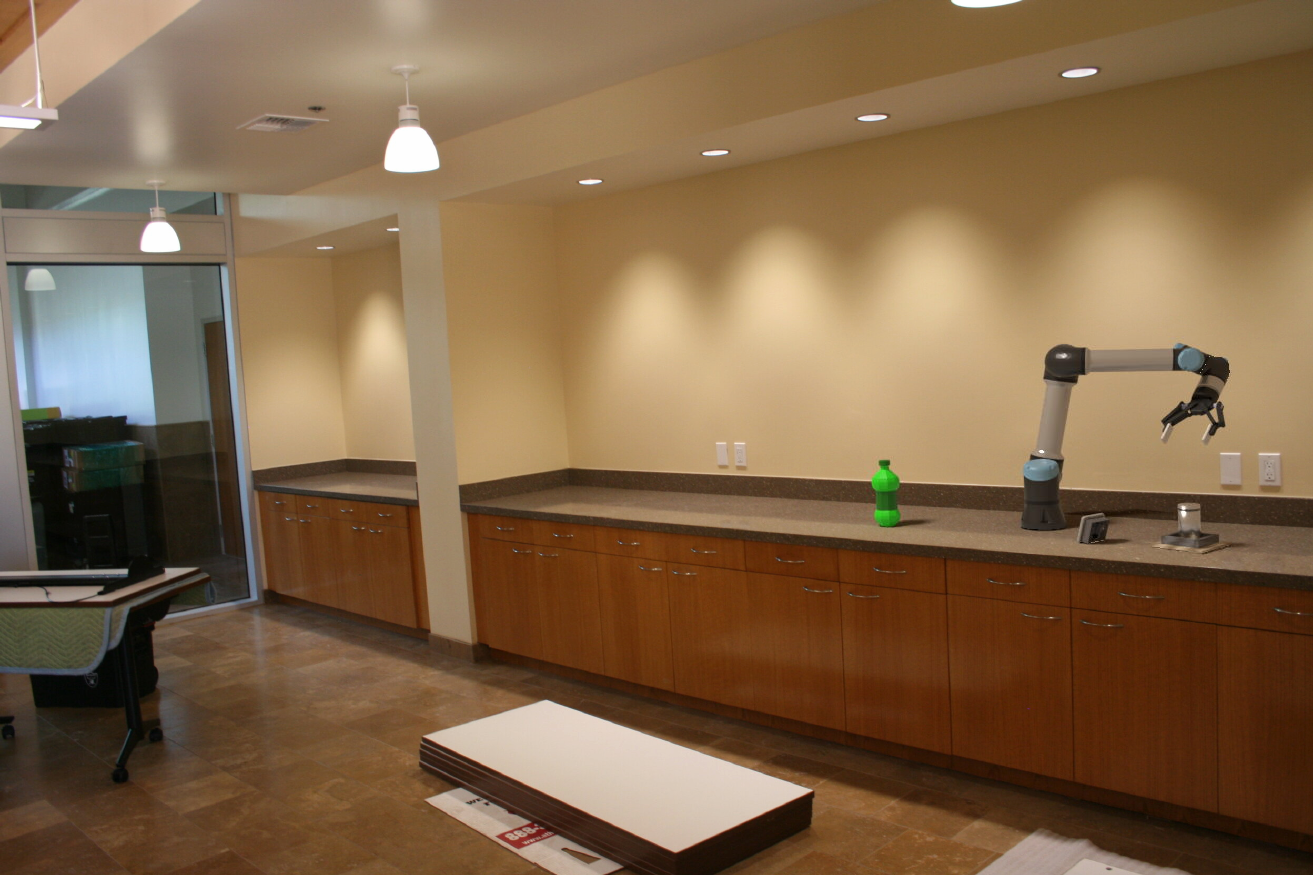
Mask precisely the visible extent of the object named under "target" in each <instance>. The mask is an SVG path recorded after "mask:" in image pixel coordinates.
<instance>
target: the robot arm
mask: <svg viewBox="0 0 1313 875" xmlns="http://www.w3.org/2000/svg"><path fill="white" fill-rule="evenodd" d="M1212 355H1213V354H1209V353H1207V352H1204V351H1202V350H1200V349H1198V348H1195V347H1192V346H1189V345H1187V344H1184V343H1181V342H1176V343H1175V344H1174V346H1173V348H1134V349H1133V348H1132V349H1131V348H1130V349H1129V348H1128V349H1125V348H1124V349H1089V348H1088V347H1083V346H1082V347H1080V346H1079V347H1078V346H1074V345H1072V344H1068V343H1061V344H1056V345H1055V346H1053V347H1052V348H1050V349H1049V350H1048V351H1047V353H1046V354H1045V357H1044V370H1043V378H1042V380H1043V382H1044V383H1045V385H1046V387H1045V390H1044V391H1045V392H1044V399H1043V404H1042V410H1041V416H1040V422H1039V428H1038V435H1037V440H1036V446H1035V449H1034V450H1033V451H1031V452H1030V455H1029V460H1028V461H1025V463H1024V464H1023V469H1022V474H1023V489H1024V492H1023V493H1024V494H1023V495H1024V507H1023V509H1022V514H1021V518H1020V521H1019V523H1020V524H1019V525H1020V526H1019V527H1020V528H1021V527H1023V528H1022V529H1024V528H1027V529H1026V530H1029V529H1038V530H1037V531H1053V530H1052V529H1057V530H1062V529H1065V528H1066V527H1067V520H1066V518H1065V514H1064V512H1063V510H1062V507H1061V501H1060V500H1061V498H1060V497H1061V496H1060V483H1061V481H1062V479H1063V469H1064V463H1065V457H1064V455H1063V454H1062V447H1063V444H1064V443H1063V441H1064V437H1065V431H1066V425H1067V419H1068V412H1069V407H1070V401H1071V396H1072V392H1073V391H1072V390H1073V388H1074V387H1075V386H1076V385H1078V381H1079V376H1087V375H1088V374H1090V373H1115V372H1116V373H1124V372H1125V373H1126V372H1128V373H1129V372H1132V373H1133V372H1189V373H1190V372H1191V373H1193V374H1195V375H1198V376H1201V377H1200V379H1199V380H1198V382H1197V385H1196V387H1195V389H1194V391H1193V393H1192V395H1191V398H1190V401H1189V402H1184V401H1183V400H1181V401H1180V402H1179V403H1178V404H1177V405H1176V407H1175V408H1174V409H1172V410H1171V411H1170V412H1169V413H1168V414H1167V415H1166V416H1164V417H1163V418H1161V420H1160V422H1161V423H1162V425H1163V429H1162V431H1161V432H1162V435H1161V437H1160V440H1161V441H1162V443H1163V444H1167V442H1168V441H1169V439H1170V436H1171V434H1172V433H1173V430H1174V427H1175V426H1176V425H1178V424H1180V423H1181V422H1182V421H1184V420H1186V419H1187V418H1192V417H1194V416H1195V417H1196V416H1200V417H1202V416H1205V415H1206V416H1207V419H1209V421H1210V423H1209V424H1208V426H1207V428H1206V430H1205V432H1204V433H1203V436H1202V438H1201V441H1202V442H1203V444H1204V446H1208V444H1209V443H1210V440H1211V438H1212V437H1214V436H1215V435H1216V433H1217V431H1218V429H1219V428H1222V429H1223V428H1226V426H1227V425H1226V421H1225V417H1224V416H1225V415H1224V409H1225V406H1224V404H1223V403H1222V401H1221V400H1219V399H1220V396H1221V395H1222V392H1223V390H1224V388H1225V386H1226V384H1227V382H1228V380H1229V378H1230V376H1229V373H1230V370H1229V363H1228V360H1227V359H1226V358H1223V357H1214V356H1212ZM1209 356H1210V357H1209ZM1205 364H1206V365H1205ZM1202 369H1203V370H1202ZM1200 372H1201V373H1200ZM1228 377H1229V378H1228ZM1227 379H1228V380H1227ZM1218 400H1219V401H1218ZM1214 409H1215V410H1216V411H1215V412H1216V416H1217V421H1216V420H1215V418H1214V416H1213V415H1212V413H1211V411H1213V410H1214ZM1061 528H1062V529H1061Z"/></svg>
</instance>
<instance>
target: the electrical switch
mask: <svg viewBox="0 0 1313 875" xmlns="http://www.w3.org/2000/svg"><path fill="white" fill-rule="evenodd" d="M1079 524H1080V525H1079V527H1078V534H1077V539H1076V542H1077V543H1078V544H1081V543H1080V542H1083V544H1086V543H1087V545H1089V544H1088V543H1091V542H1095V541H1101V540H1105V541H1106V537H1107V534H1108V528H1109V526H1110V525H1109V524H1110V518H1107V517H1105V513H1103V512H1100V513H1095V514H1090V515H1089V514H1088V515H1083V516H1082V517H1081V519H1080V523H1079ZM1092 540H1093V541H1092Z"/></svg>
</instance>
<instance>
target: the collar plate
mask: <svg viewBox="0 0 1313 875" xmlns="http://www.w3.org/2000/svg"><path fill="white" fill-rule="evenodd" d="M1160 539H1161V540H1159V541H1155V542H1151V543H1149V548H1152V547H1160V548H1169V549H1176V550H1185V551H1193V552H1205V551H1209V550H1213V549H1217V548H1221V547H1224V548H1226V547H1225V546H1227V545H1230V544H1231V545H1232V542H1231V541H1224V540H1220V535H1219V533H1212V532H1211V533H1210V532H1202V531H1201V538H1199V539H1190V538H1182V537H1179V530H1178V531H1173V532H1170V533H1166V534H1163V535H1160ZM1231 545H1230V546H1231ZM1227 547H1228V546H1227ZM1160 548H1159V549H1160ZM1221 549H1222V548H1221ZM1217 550H1218V549H1217Z"/></svg>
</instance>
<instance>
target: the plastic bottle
mask: <svg viewBox="0 0 1313 875" xmlns="http://www.w3.org/2000/svg"><path fill="white" fill-rule="evenodd" d="M879 466H880V469H879V470H878V471H876V473H875V474H874V475H873V476H872V477H871V480H870V481H871V487H872V489H873V490H875V504H876V506H875V508H876V509H875V511H874V514H873V515H874V520H875V521H876V522H877V524H879V525H880V526H881V527H882V528H883V527H884V528H886V527H888V528H891V527H895V526H896V525H898V523H899V522H900V519H901V516H902V515H901V513H900V511H899V508H898V493H897V492H898V489H899V488H900V484H901V483H900V481H901V480H900V478H899V476H898V475H897V474H895V472H893V471H892V470H891V469H890V466H891V460H890V459H879V460H878V467H879Z"/></svg>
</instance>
